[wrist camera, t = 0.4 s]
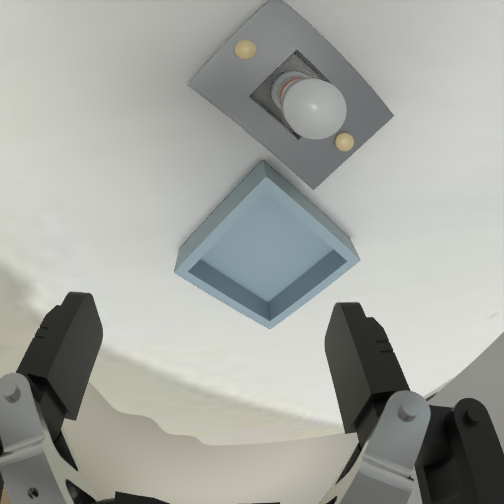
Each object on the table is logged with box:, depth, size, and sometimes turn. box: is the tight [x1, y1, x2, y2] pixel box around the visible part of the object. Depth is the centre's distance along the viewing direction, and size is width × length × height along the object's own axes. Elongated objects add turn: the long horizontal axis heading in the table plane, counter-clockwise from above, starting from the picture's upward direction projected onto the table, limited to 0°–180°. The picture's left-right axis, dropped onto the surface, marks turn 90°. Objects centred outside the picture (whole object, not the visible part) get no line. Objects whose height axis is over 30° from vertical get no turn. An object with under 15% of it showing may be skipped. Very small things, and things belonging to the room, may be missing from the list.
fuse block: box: [188, 0, 394, 190], centre depth 24 cm, size 10×14×3 cm
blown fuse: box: [271, 71, 347, 140], centre depth 21 cm, size 4×4×9 cm
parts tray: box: [174, 160, 360, 329], centre depth 32 cm, size 13×13×4 cm
